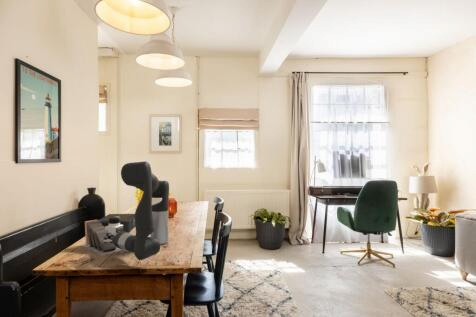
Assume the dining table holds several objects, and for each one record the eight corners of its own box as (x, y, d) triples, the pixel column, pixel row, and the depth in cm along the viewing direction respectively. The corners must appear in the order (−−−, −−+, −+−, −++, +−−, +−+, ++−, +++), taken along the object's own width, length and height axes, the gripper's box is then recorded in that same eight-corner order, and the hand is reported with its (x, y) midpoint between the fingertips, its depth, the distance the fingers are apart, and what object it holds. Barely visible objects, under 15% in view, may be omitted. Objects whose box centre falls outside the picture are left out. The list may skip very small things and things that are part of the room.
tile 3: (107, 244, 152) (101, 222, 156) (95, 247, 147) (89, 224, 152) (106, 246, 153) (100, 224, 157) (94, 248, 148) (88, 226, 153)
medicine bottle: (116, 240, 166) (116, 218, 166) (104, 239, 168) (104, 217, 168) (123, 236, 173) (123, 216, 173) (112, 236, 175) (112, 215, 175)
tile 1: (116, 247, 146) (107, 228, 152) (104, 250, 141) (95, 231, 147) (115, 249, 147) (106, 231, 153) (103, 252, 142) (94, 233, 148)
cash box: (129, 233, 183) (129, 220, 183) (95, 234, 181) (95, 221, 181) (139, 224, 208) (139, 213, 208) (108, 225, 205) (108, 213, 206)
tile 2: (111, 245, 149) (104, 225, 154) (99, 248, 144) (92, 227, 150) (110, 247, 150) (102, 227, 155) (98, 250, 145) (91, 229, 151)
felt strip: (122, 251, 146) (122, 250, 146) (102, 256, 138) (102, 255, 138) (99, 242, 162) (99, 241, 162) (80, 246, 154) (80, 245, 154)
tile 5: (99, 242, 158) (98, 219, 159) (87, 245, 153) (86, 221, 154) (97, 242, 159) (96, 219, 160) (85, 245, 154) (84, 221, 155)
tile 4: (103, 243, 155) (99, 220, 158) (91, 246, 150) (87, 222, 153) (101, 244, 156) (97, 221, 159) (89, 246, 151) (86, 223, 154)
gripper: (139, 230, 140) (120, 225, 151) (112, 235, 130) (93, 229, 141) (139, 246, 140) (120, 239, 151) (112, 253, 130) (93, 245, 141)
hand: (107, 234), depth 146 cm, fingers closed
